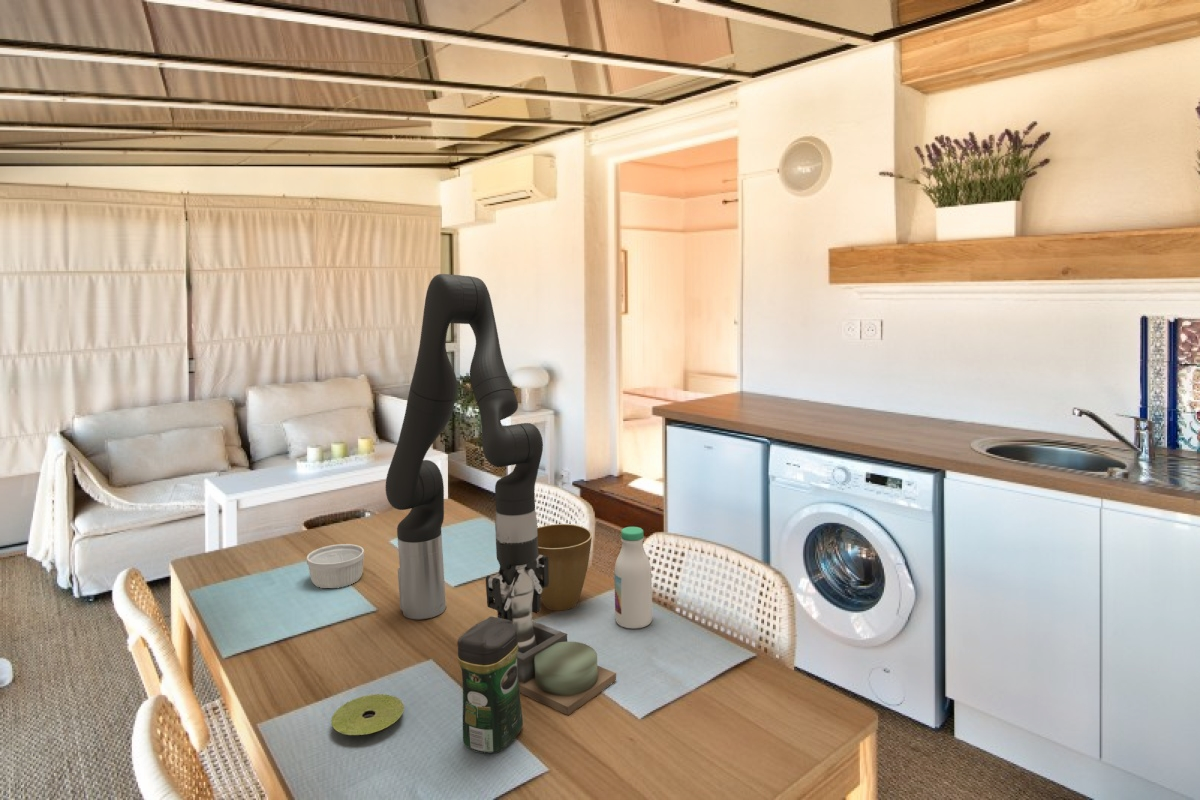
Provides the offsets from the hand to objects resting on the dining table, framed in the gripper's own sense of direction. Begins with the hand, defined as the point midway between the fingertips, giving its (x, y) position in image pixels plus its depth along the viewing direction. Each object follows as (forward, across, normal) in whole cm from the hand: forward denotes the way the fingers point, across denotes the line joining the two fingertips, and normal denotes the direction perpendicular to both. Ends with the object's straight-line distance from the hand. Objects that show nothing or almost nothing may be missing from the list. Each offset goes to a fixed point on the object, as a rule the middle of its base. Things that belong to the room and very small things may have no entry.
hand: (520, 619), depth 132 cm
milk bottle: (+10, -27, +6) cm, 29 cm away
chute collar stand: (+9, 0, +5) cm, 11 cm away
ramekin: (+10, -2, -65) cm, 66 cm away
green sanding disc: (+10, +28, -8) cm, 30 cm away
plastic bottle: (+8, +1, 0) cm, 8 cm away
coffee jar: (+10, +18, +11) cm, 23 cm away
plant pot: (+10, -24, -12) cm, 28 cm away
